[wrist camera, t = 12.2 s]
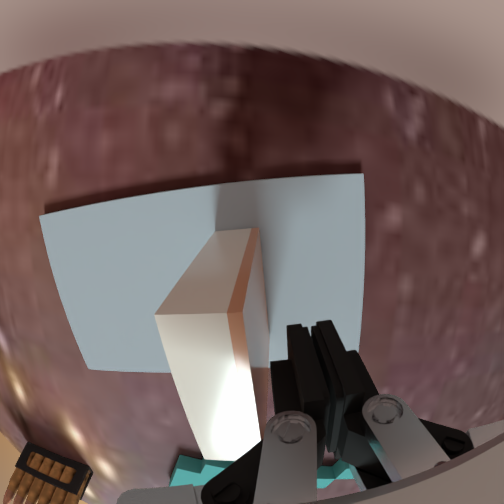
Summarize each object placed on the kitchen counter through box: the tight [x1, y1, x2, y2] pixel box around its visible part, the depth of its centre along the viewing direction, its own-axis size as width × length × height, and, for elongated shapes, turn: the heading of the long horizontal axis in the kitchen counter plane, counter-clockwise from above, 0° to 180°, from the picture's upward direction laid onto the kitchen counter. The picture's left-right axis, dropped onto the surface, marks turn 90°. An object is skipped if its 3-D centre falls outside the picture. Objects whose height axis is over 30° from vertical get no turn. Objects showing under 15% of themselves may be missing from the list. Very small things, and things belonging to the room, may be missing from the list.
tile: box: [154, 228, 270, 461], centre depth 13 cm, size 2×7×9 cm, turn 6°
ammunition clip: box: [3, 442, 93, 504], centre depth 20 cm, size 11×2×12 cm, turn 86°
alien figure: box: [169, 455, 354, 488], centre depth 25 cm, size 20×2×20 cm
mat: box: [39, 173, 365, 372], centre depth 18 cm, size 20×12×1 cm, turn 96°
